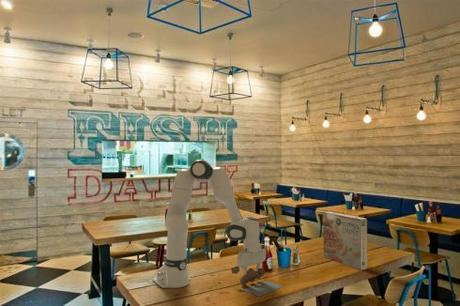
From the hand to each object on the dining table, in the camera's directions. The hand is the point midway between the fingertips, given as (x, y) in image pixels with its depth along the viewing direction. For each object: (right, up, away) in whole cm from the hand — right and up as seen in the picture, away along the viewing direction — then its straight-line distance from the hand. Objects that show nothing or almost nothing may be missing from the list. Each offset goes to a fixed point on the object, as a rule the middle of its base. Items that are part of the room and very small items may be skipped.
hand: (251, 272), depth 197 cm
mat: (+6, -7, -6) cm, 11 cm away
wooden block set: (-4, -4, +2) cm, 6 cm away
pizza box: (+62, -7, +35) cm, 71 cm away
